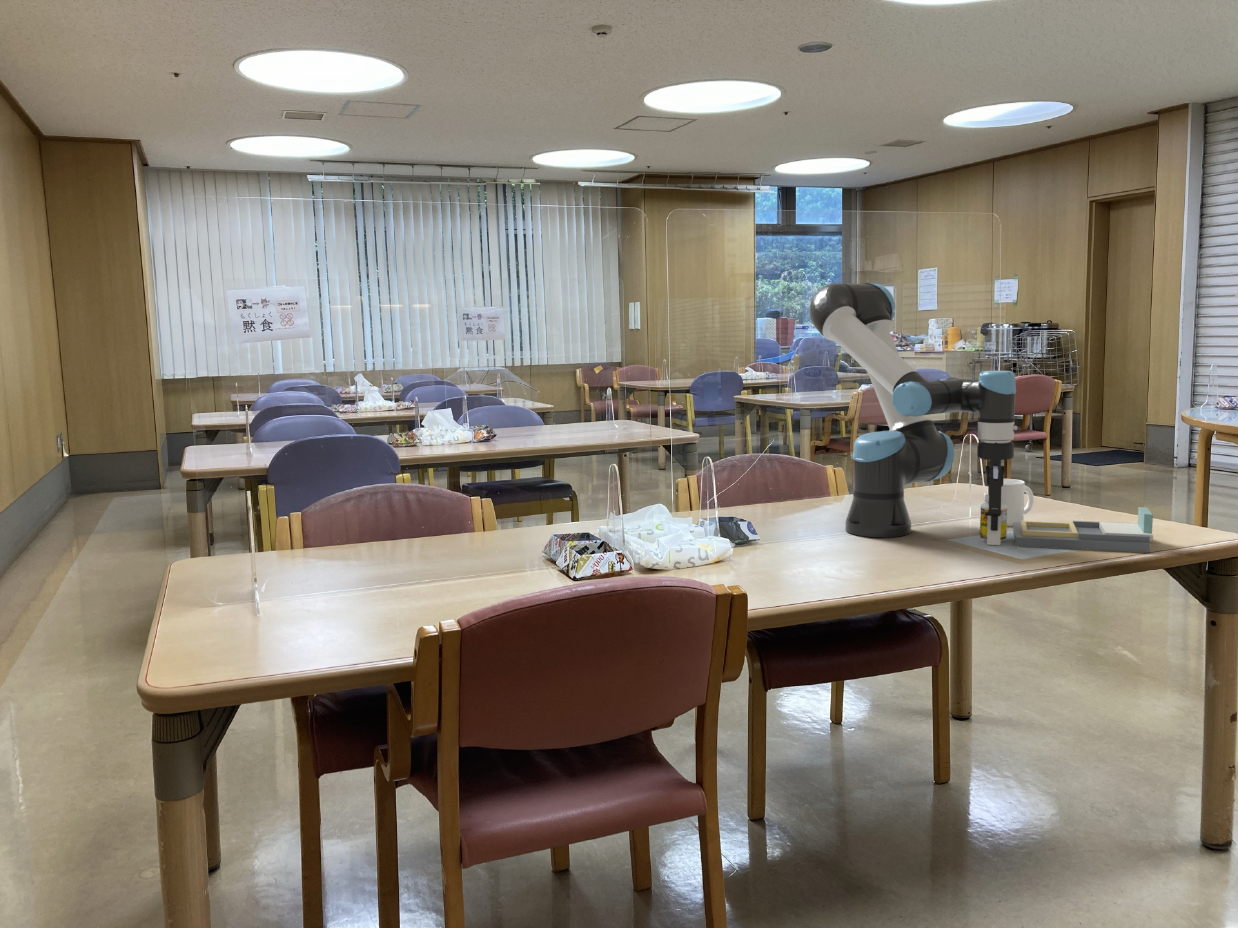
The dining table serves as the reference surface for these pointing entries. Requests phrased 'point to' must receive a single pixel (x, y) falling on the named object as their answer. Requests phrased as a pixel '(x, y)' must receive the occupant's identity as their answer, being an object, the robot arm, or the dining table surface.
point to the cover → (1131, 525)
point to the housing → (1076, 537)
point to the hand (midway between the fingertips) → (993, 539)
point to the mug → (1016, 500)
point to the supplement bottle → (985, 519)
